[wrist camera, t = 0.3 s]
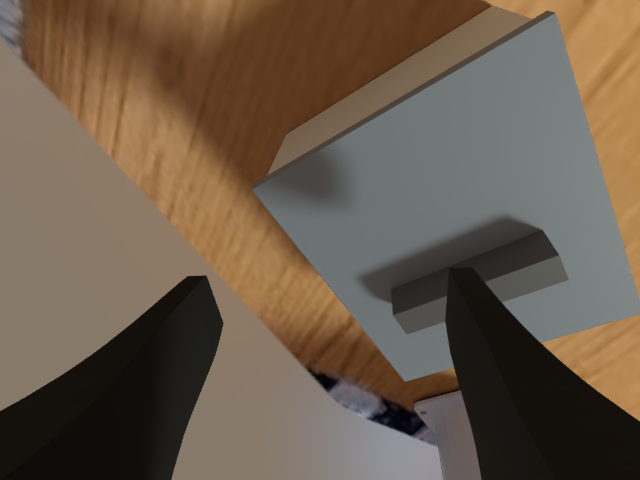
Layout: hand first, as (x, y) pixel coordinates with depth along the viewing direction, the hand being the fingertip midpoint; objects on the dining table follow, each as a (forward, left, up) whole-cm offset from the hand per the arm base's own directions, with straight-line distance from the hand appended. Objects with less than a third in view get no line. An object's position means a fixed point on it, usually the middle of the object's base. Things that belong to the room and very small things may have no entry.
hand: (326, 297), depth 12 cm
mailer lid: (-3, -4, -4) cm, 6 cm away
